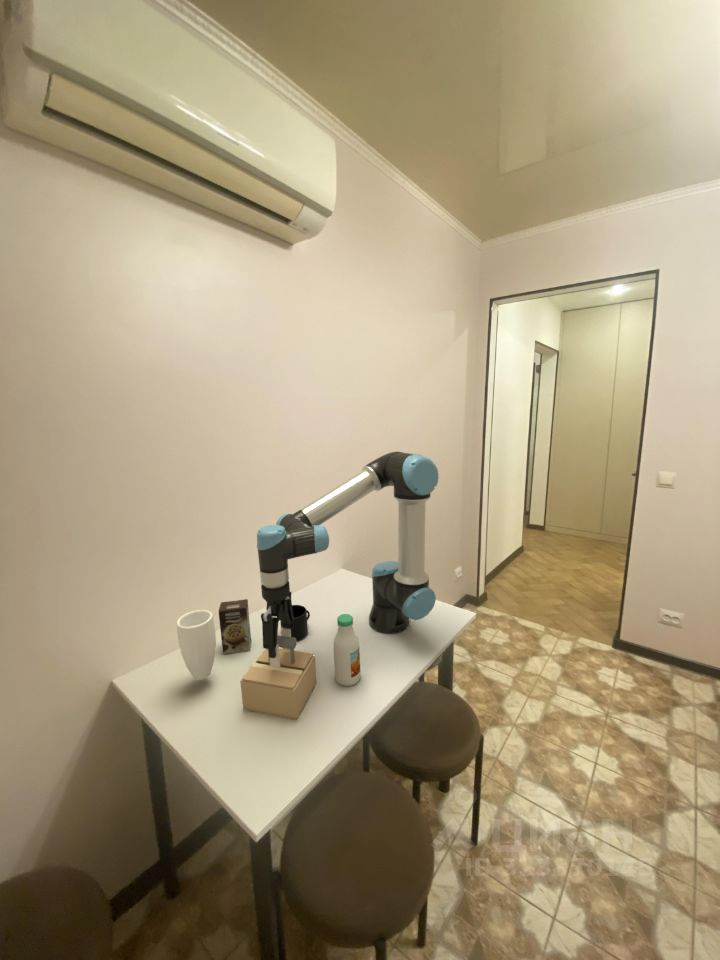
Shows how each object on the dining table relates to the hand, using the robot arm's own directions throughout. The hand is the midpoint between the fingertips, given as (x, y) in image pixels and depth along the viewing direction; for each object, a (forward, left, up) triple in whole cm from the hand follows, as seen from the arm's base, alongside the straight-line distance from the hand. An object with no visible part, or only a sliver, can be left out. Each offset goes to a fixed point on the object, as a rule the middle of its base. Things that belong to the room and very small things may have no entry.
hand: (281, 657), depth 110 cm
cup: (+26, +2, -11) cm, 28 cm away
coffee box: (+25, -15, -11) cm, 32 cm away
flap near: (0, -2, -2) cm, 3 cm away
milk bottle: (-16, -9, -11) cm, 22 cm away
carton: (0, +2, -11) cm, 11 cm away
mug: (+8, -28, -11) cm, 31 cm away
